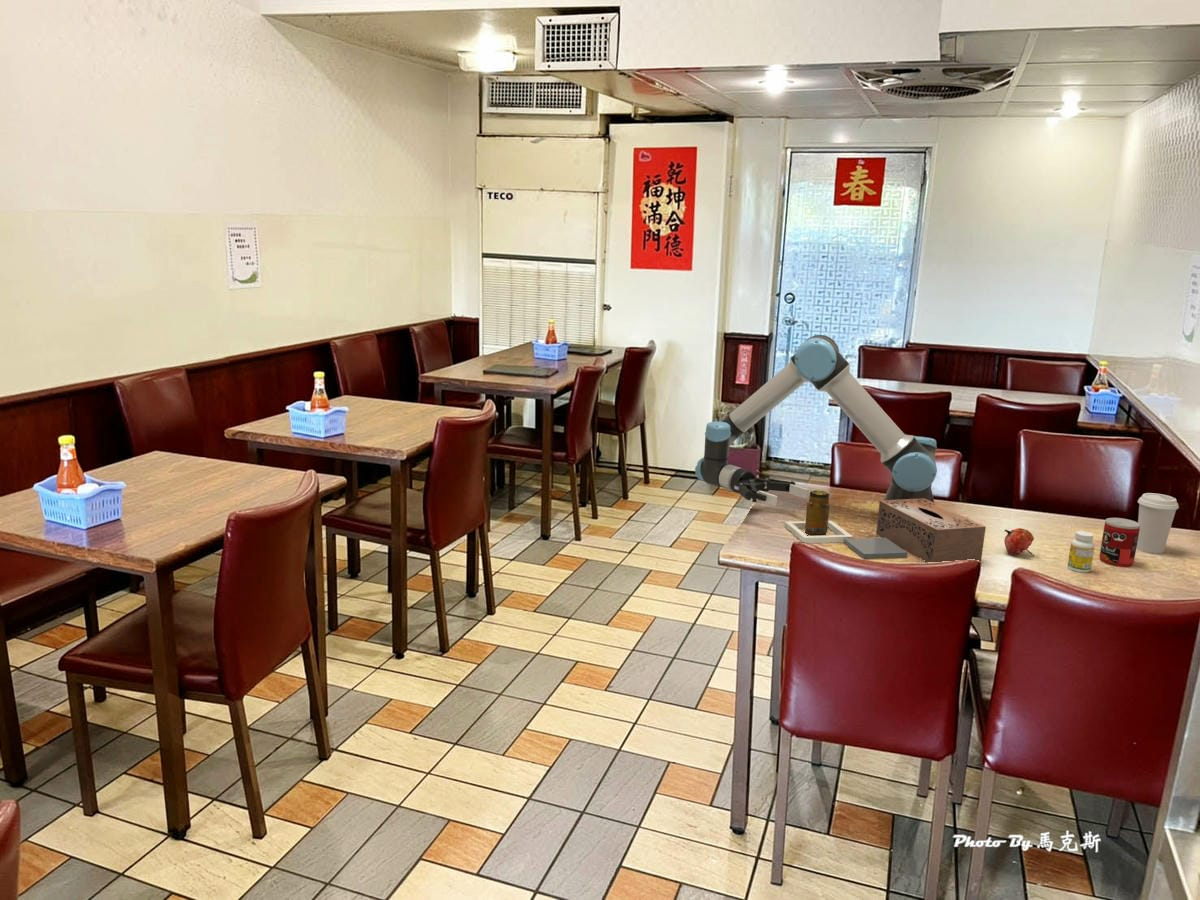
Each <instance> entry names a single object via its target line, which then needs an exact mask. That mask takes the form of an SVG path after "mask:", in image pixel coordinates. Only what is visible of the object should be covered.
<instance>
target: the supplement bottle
mask: <svg viewBox="0 0 1200 900" xmlns="http://www.w3.org/2000/svg"><path fill="white" fill-rule="evenodd" d="M1074 537H1075V538H1074V539H1072V540H1071V541H1070V547H1069V552H1068V553H1069V554H1068V558H1067V559H1068V560H1067V568H1068V569H1069V570H1071V571H1073V572H1076V573H1082V574H1083V573H1085V574H1086V573H1089V572H1091V570H1092V565H1093V558H1094V553H1095V546H1096V545H1095V543H1094V542H1093V540H1094V534H1093V533H1092V532H1087V531H1084V530H1083V531H1082V530H1078V531H1075V534H1074Z"/></svg>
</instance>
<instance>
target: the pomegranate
mask: <svg viewBox="0 0 1200 900" xmlns="http://www.w3.org/2000/svg"><path fill="white" fill-rule="evenodd" d="M1003 532H1004V533H1005V532H1006V533H1007V534H1005V537H1004V540H1003V541H1004V547H1005V550H1006V551H1007V552H1008V553H1009V554H1010V555H1013V556H1021V555H1022V554H1023V552H1024V551H1027V552H1028V553H1029V554H1030V555H1032V556H1033V557H1035V555H1034V554H1033V553H1032V552H1031V551H1030V550H1029V548H1030V546H1031V545H1032V543H1033V541H1034V540H1035V537H1034V535H1033V534H1032V533H1031V531H1029V530H1028V529H1025V528H1021V527H1020V528H1019V527H1018V528H1015V529H1012V530H1008V529H1004V531H1003Z"/></svg>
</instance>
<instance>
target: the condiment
mask: <svg viewBox="0 0 1200 900" xmlns="http://www.w3.org/2000/svg"><path fill="white" fill-rule="evenodd" d="M829 498H830V493H829V492H827V491H824V490H818V489H816V490H815V489H814V490H811V491H809V496H808V499H807V502H806V513H805V514H806V515H805V520H804V521H805V522H806V523H805V528H804V531H805V533H806V534H808V535H810V536H824V535H826V533H830V534H831V535H835V533H831V532H828V528H827V527H828V521H829V516H830V515H829V513H830V506H831V505H830V499H829Z"/></svg>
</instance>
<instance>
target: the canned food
mask: <svg viewBox="0 0 1200 900" xmlns="http://www.w3.org/2000/svg"><path fill="white" fill-rule="evenodd" d="M1139 531H1140V524H1139V523H1138V521H1135V520H1132V519H1127V518H1121V517H1108V518H1106V519H1105V521H1104V525H1103V532H1102V537H1101V543H1100V550H1099V560H1100V561H1101V562H1103V563H1105V564H1107V565H1110V566H1115V567H1121V568H1124V567H1125V568H1126V567H1132V566H1133V564H1134V562H1135V558H1136V553H1137V548H1136V547H1137V542H1138V537H1139Z"/></svg>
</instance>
